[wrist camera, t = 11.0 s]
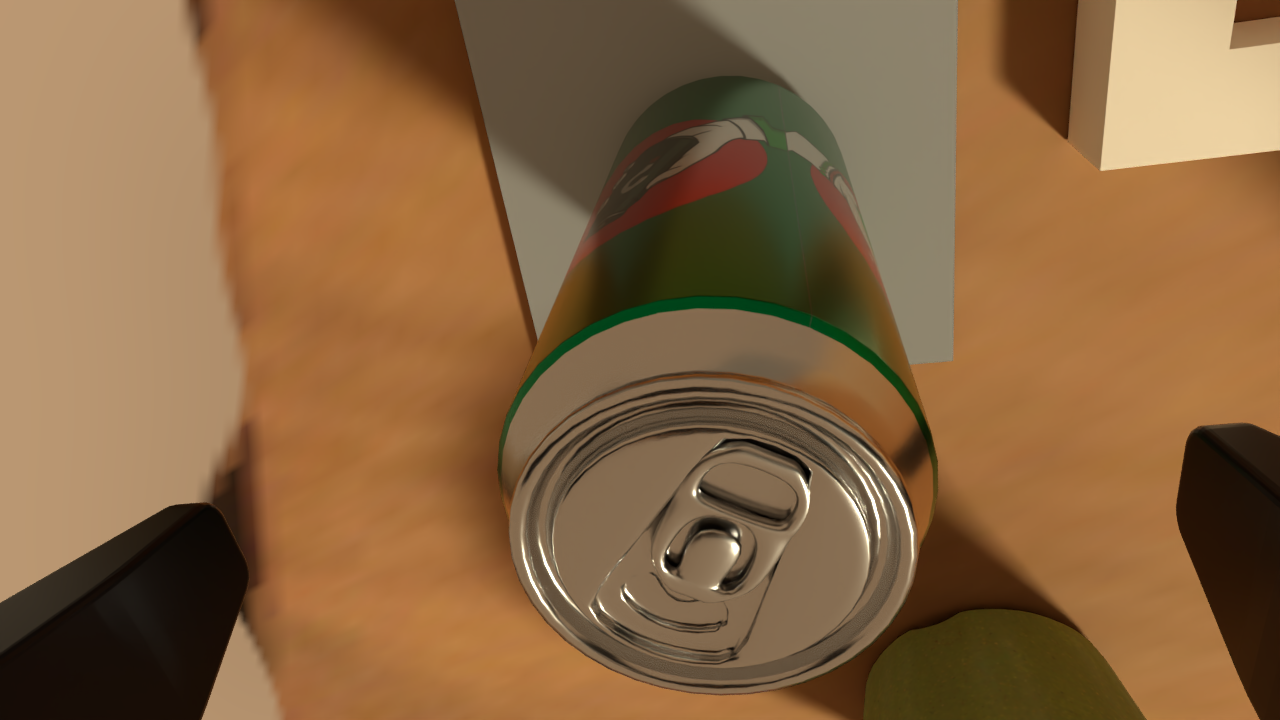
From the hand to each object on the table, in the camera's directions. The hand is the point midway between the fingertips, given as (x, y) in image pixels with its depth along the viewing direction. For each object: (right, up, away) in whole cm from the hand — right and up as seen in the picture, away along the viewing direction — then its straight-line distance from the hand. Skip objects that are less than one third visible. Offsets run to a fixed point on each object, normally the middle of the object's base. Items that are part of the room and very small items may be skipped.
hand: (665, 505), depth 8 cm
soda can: (+2, +5, +12) cm, 13 cm away
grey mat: (+2, +5, +12) cm, 13 cm away
